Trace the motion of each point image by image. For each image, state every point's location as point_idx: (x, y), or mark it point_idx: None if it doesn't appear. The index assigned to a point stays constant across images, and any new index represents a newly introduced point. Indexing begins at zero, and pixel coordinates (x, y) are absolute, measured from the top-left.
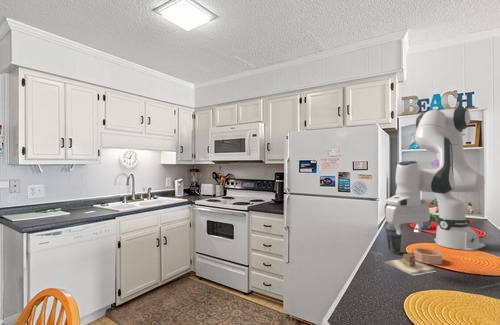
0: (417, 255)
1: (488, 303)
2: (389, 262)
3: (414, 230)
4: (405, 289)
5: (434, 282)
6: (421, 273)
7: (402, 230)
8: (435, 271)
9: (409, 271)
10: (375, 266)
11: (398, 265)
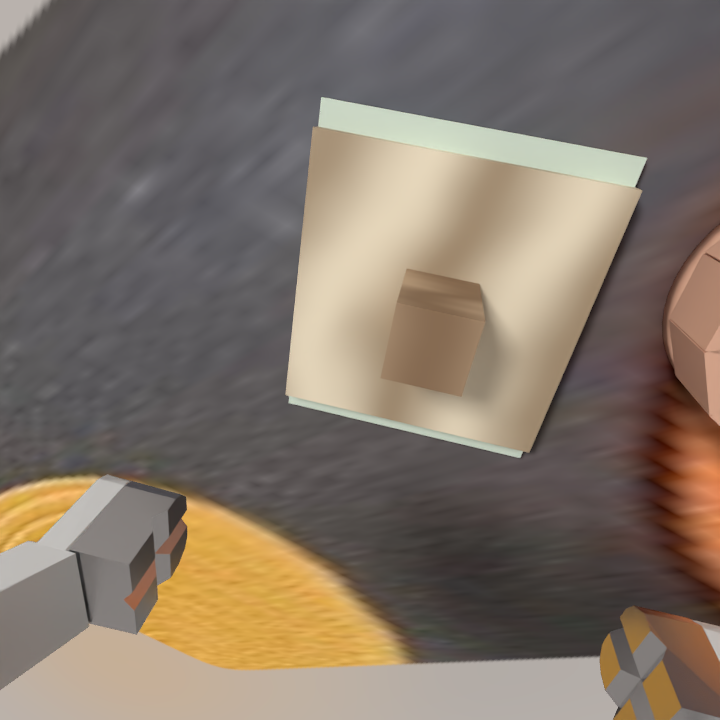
0: (717, 280)
1: (328, 654)
2: (314, 171)
3: (648, 644)
4: (102, 447)
5: (329, 495)
6: (375, 417)
7: (133, 631)
8: (507, 454)
9: (290, 382)
10: (173, 112)
11: (325, 268)
